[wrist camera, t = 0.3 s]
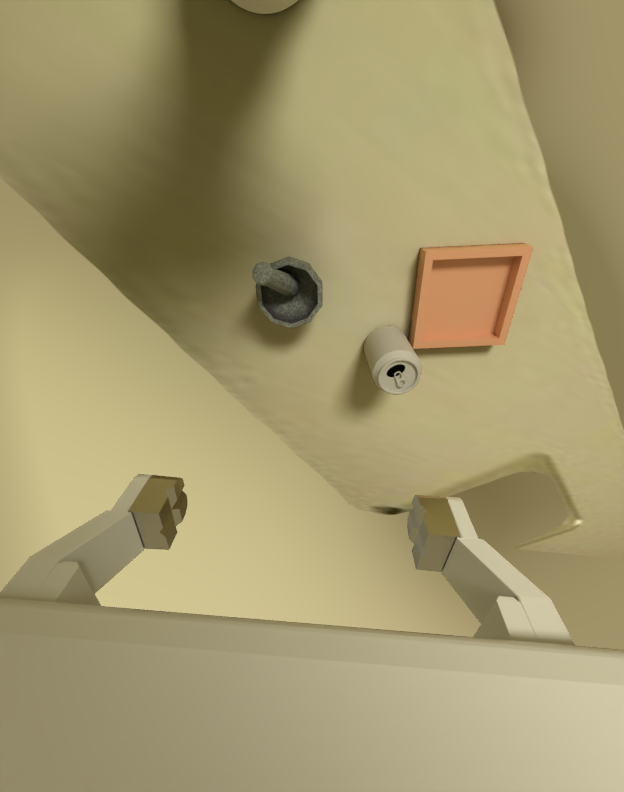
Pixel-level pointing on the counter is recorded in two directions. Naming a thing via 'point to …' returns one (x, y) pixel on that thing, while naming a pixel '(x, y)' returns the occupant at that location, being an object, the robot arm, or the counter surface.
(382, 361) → the can
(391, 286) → the counter surface
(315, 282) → the mortar and pestle
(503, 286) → the dish
